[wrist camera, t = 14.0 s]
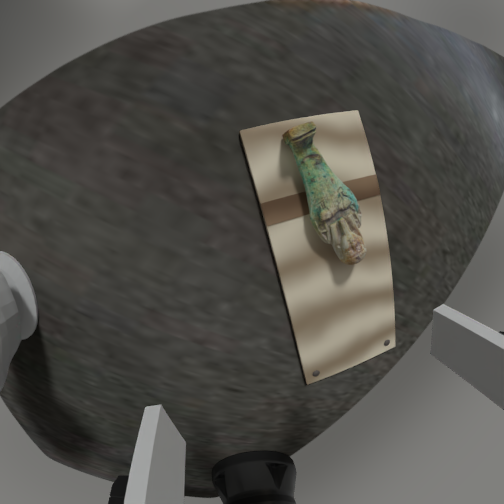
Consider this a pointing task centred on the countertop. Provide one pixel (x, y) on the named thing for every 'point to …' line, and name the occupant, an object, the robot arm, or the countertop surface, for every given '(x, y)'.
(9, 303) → the bust with hat
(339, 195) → the figurine
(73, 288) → the countertop surface
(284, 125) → the board
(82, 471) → the countertop surface
